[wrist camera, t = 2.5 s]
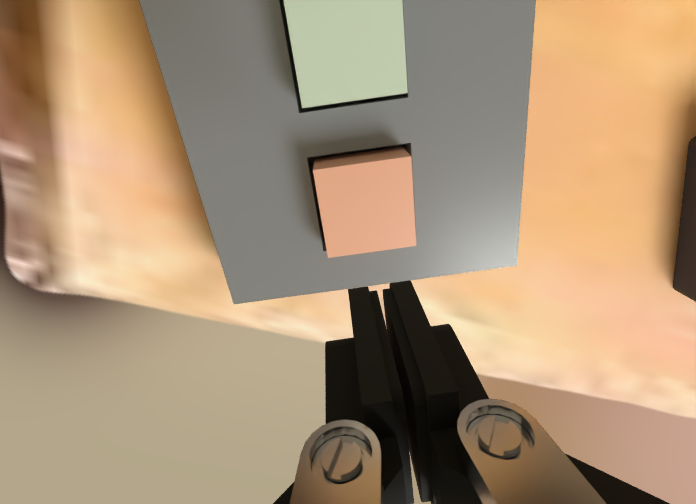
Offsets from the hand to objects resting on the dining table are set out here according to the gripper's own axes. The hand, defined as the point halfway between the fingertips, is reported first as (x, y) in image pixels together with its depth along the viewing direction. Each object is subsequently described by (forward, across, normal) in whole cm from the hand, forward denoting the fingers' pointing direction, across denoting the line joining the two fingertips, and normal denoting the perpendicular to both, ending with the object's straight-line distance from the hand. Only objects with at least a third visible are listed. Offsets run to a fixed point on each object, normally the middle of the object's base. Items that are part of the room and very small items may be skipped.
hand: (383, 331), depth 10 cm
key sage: (+11, -1, -8) cm, 13 cm away
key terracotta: (+11, -1, -1) cm, 11 cm away
